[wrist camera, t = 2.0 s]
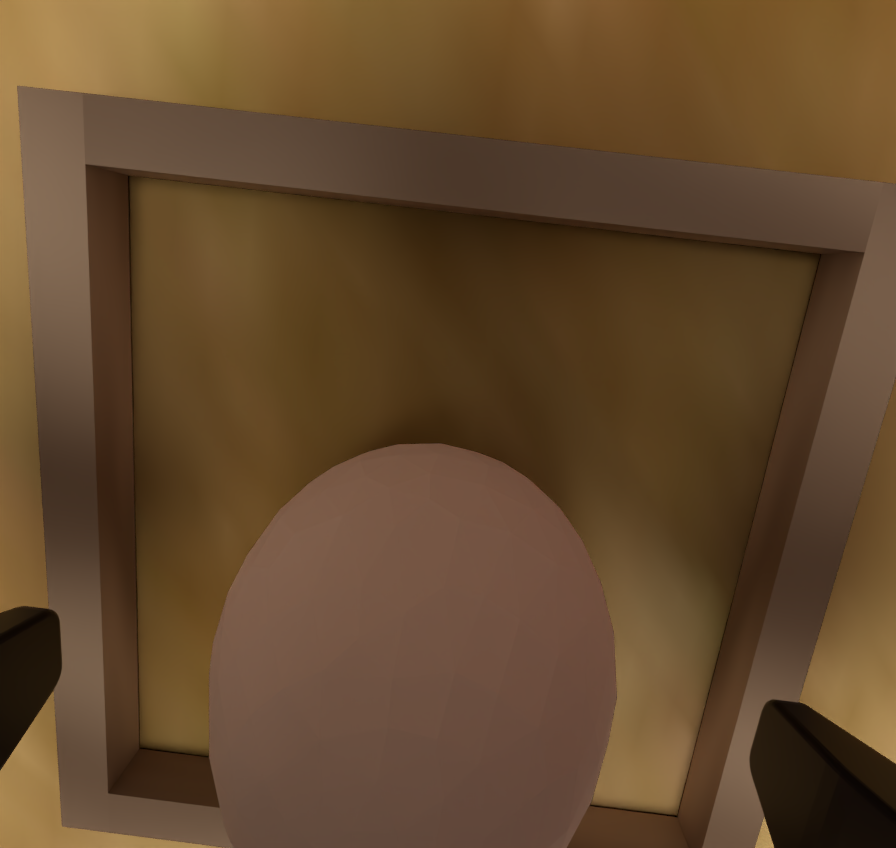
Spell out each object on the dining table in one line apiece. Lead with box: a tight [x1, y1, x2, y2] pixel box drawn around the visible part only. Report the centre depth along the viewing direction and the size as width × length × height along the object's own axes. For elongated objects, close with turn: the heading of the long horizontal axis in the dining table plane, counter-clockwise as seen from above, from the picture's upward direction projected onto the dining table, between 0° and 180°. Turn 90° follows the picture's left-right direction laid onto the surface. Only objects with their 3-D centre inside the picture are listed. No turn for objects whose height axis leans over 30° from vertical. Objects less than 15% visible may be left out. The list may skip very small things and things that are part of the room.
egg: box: [209, 443, 617, 848], centre depth 8 cm, size 5×5×7 cm
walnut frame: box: [17, 86, 896, 848], centre depth 11 cm, size 14×14×1 cm
